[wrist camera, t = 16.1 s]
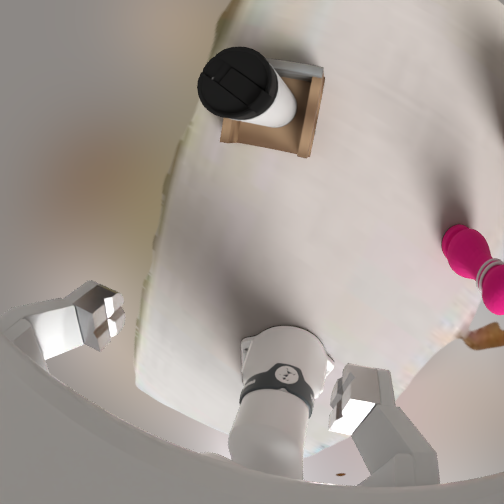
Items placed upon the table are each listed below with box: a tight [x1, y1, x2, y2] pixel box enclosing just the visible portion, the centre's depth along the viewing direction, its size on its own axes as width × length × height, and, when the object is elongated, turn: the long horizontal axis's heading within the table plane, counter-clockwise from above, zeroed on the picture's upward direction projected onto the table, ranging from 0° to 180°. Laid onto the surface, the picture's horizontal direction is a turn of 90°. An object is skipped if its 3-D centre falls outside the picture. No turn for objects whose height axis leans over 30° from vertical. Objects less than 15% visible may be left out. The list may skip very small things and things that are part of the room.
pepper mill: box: [442, 224, 504, 315], centre depth 28 cm, size 7×7×20 cm
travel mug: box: [197, 47, 297, 128], centre depth 27 cm, size 6×7×20 cm
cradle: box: [220, 58, 325, 158], centre depth 34 cm, size 12×12×7 cm
